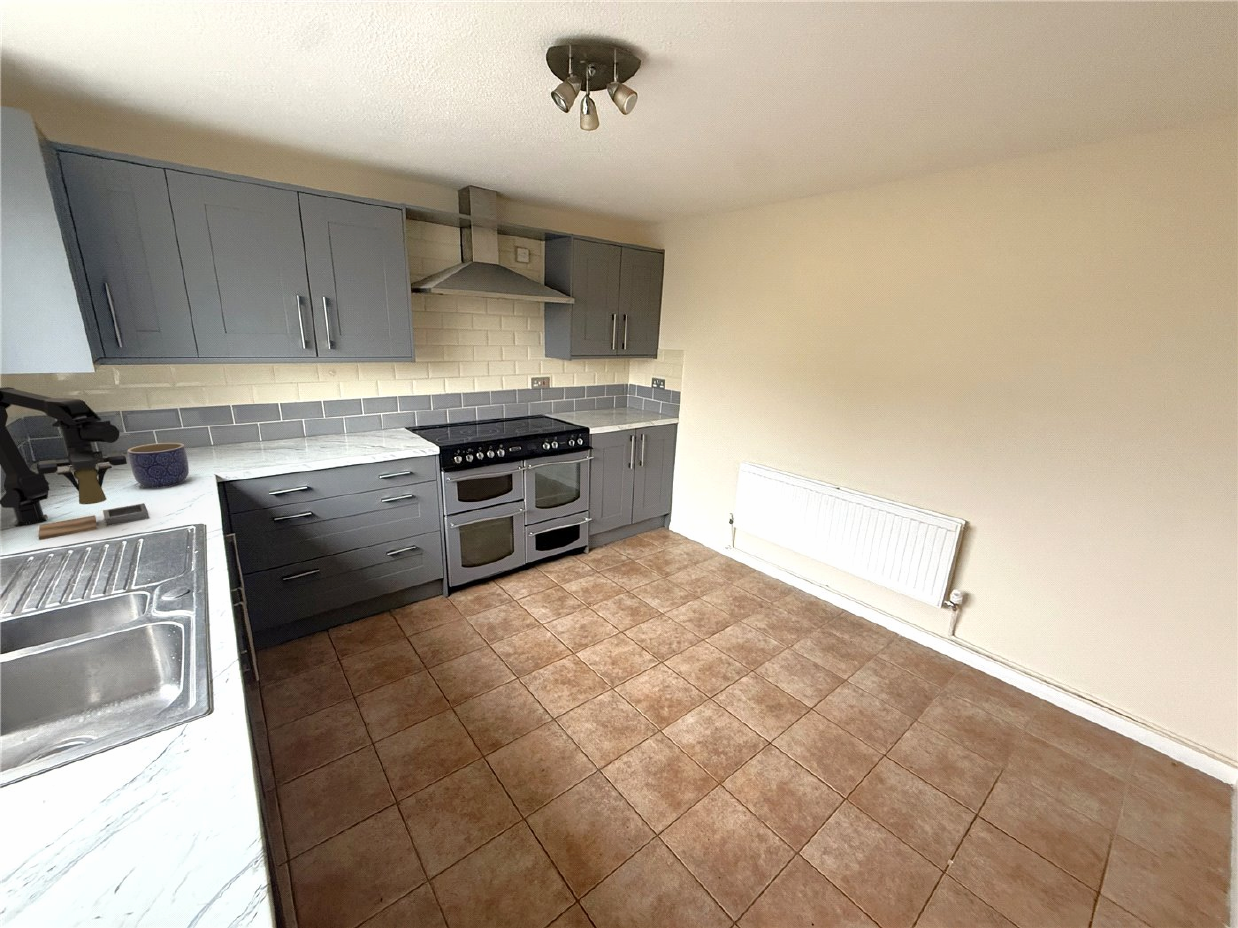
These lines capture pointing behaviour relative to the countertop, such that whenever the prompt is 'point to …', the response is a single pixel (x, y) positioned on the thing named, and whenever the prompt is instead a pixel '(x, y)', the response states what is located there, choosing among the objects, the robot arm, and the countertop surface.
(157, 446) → the planter
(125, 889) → the countertop surface
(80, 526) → the walnut board
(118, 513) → the steel collar
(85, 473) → the cork
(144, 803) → the countertop surface
